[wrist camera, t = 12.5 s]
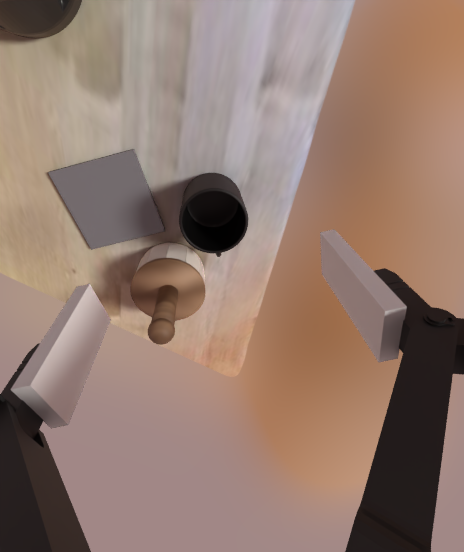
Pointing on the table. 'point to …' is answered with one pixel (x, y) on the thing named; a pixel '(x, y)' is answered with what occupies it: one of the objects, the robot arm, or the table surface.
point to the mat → (109, 199)
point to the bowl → (174, 255)
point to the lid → (167, 294)
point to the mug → (213, 214)
